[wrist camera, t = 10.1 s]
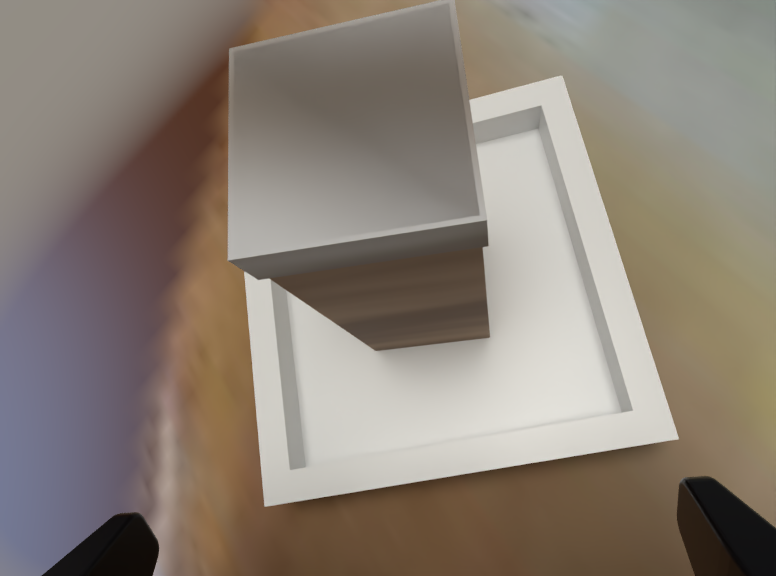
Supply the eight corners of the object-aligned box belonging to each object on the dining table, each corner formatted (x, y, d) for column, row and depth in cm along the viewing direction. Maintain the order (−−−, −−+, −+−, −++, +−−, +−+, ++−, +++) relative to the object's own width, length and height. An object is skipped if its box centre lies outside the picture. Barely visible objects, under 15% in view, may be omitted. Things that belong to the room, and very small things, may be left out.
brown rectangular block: (493, 339, 19) (486, 219, 8) (373, 354, 19) (227, 260, 9) (477, 226, 20) (453, -3, 9) (365, 243, 21) (228, 48, 10)
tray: (654, 438, 18) (679, 438, 15) (293, 498, 19) (264, 506, 17) (555, 114, 21) (562, 75, 19) (261, 190, 23) (234, 162, 21)
